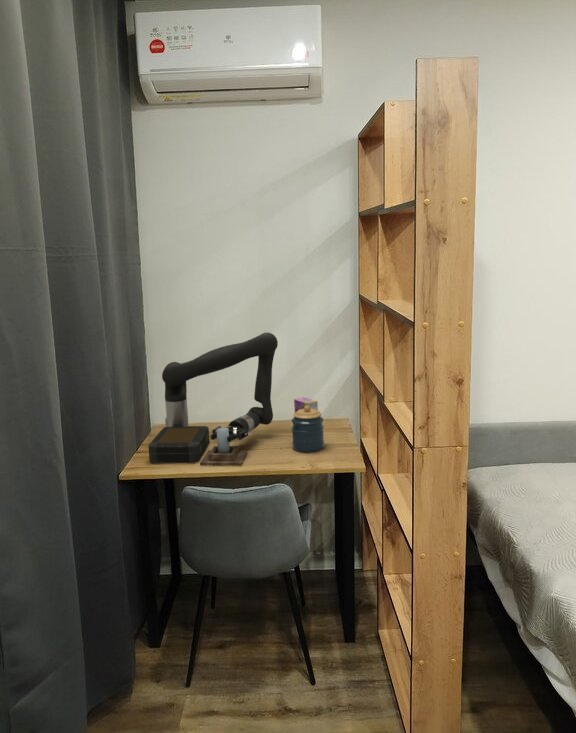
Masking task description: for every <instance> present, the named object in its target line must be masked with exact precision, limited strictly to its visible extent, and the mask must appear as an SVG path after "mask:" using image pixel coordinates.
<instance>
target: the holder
mask: <svg viewBox="0 0 576 733" xmlns="http://www.w3.org/2000/svg"><path fill="white" fill-rule="evenodd" d="M247 455H248V450H246V449H243V450H242V449H240V447H239V445H230V453H218V445H214V446H213V447H212V448H211V449H210V450H209V449H208V450H207V452H206V453H204V456H202V458H201V459H200V461H199V466H200V465H213V466H214V467H216V466H215V465H218V466H217V467H219V465H243V464H242V463H244V462H243V461H245V459H246V457H247ZM213 466H212V467H213Z"/></svg>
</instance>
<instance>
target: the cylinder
mask: <svg viewBox="0 0 576 733" xmlns="http://www.w3.org/2000/svg"><path fill="white" fill-rule="evenodd" d="M228 436H229V429H228V428H225V427H221V428H218V429H217V438H216V442H217V446H218V453H230V446H231V445H230V442H228V440H227V437H228Z"/></svg>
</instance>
